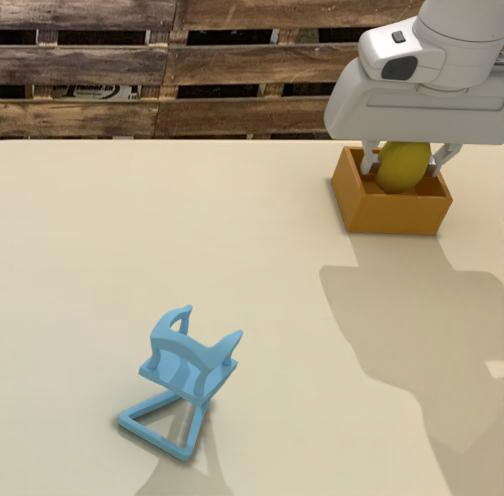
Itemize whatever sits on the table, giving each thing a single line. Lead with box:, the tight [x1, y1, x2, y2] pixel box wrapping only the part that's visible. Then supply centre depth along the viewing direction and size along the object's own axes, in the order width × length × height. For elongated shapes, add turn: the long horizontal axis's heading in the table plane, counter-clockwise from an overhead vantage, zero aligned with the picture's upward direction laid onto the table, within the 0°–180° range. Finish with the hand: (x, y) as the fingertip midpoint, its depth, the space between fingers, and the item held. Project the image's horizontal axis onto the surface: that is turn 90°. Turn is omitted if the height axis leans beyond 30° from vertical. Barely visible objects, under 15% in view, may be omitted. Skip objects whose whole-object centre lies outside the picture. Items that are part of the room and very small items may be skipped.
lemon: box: [374, 141, 432, 195], centre depth 103 cm, size 6×6×8 cm
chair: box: [117, 304, 244, 462], centre depth 82 cm, size 8×8×12 cm
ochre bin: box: [330, 145, 454, 236], centre depth 105 cm, size 10×10×5 cm
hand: (396, 173), depth 104 cm, fingers closed on lemon, 5 cm apart
